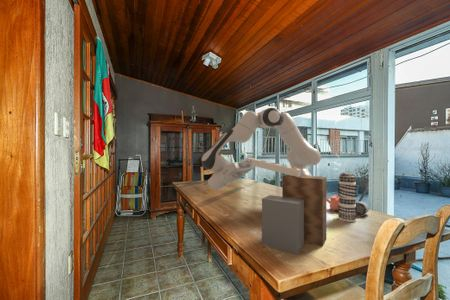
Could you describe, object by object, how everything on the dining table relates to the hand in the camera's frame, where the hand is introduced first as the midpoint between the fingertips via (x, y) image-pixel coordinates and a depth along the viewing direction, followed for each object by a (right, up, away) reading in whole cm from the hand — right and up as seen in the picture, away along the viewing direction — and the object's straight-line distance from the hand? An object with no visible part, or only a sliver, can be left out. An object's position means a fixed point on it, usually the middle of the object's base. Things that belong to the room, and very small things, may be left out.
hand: (252, 160), depth 101 cm
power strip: (+8, -4, -5) cm, 10 cm away
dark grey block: (+9, -32, -20) cm, 39 cm away
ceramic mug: (+64, -33, +19) cm, 75 cm away
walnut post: (+20, -32, -13) cm, 40 cm away
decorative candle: (+53, -33, +10) cm, 63 cm away
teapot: (+57, -33, +28) cm, 71 cm away
